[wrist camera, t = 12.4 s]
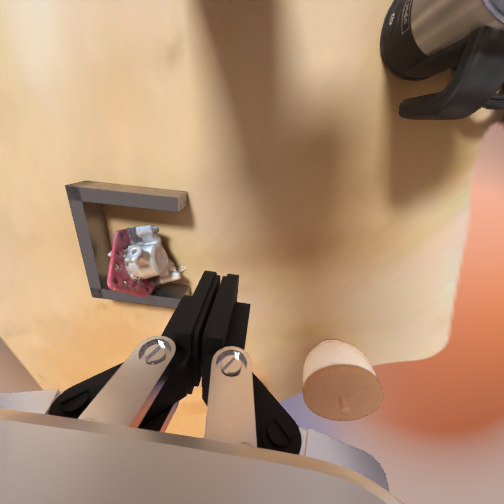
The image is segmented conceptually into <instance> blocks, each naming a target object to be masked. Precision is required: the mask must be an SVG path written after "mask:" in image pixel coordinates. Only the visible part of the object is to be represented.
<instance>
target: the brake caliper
mask: <svg viewBox="0 0 504 504" xmlns="http://www.w3.org/2000/svg"><path fill="white" fill-rule="evenodd" d="M158 231H159V229H158V228H157V227H156V226H152V225H147V226H138V227H133V228H127V229H123V230H118V231H117V232H116V233H115V235H114V236H113V238H114V239H113V246H112V250H111V251H110V252H109V253H108V256H109V257H111V258H110V264H109V272H108V278H107V285H108V287H109V288H110V289H111V290H114V291H118V292H123V293H128V294H131V295H136V296H139V297H148V296H150V294H151V293H152V291H153V289H154V287H156V286H157V285H161V284H164V283H167V282H172V281H175V280H179V279H181V274H180V273H181V272H183V271H184V270H186V267H184V266H181V267H176V268H175V264H174V262H172V261H171V260H170V259H169V258H168V256H167V253H166V251H165V250H164V248H163V247H162V244H161V238H160V237H159V235H158V233H157V232H158ZM115 264H118V266H119V270H117V269H116V268H115ZM133 277H137V278H138V279H137V282H136V281H135V280H134V279H133ZM114 281H115V282H114ZM124 283H127V287H126V286H125V285H124ZM133 287H134V288H135V289H133Z"/></svg>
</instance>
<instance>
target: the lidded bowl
mask: <svg viewBox="0 0 504 504" xmlns="http://www.w3.org/2000/svg"><path fill="white" fill-rule="evenodd" d="M383 396H384V392H383V388H382V386H381V384H380V381H379V380H378V378H377V376H376V374H375V372H374V370H373V368H372V366H371V364H370V363H369V361H368V360H367V359H366V357H365V356H364V355H363V354H362V353H361V352H360V351H359V350H358V349H357V348H355V347H354V346H352V345H350V344H348V343H345V342H343V341H340V340H336V339H330V340H325V341H322V342H320V343H319V344H317V345H316V346H315V347H314V348H313V349H312V350H311V351H310V353H309V354H308V356H307V357H306V360H305V363H304V367H303V397H304V401H305V403H306V405H307V406H308V408H309V409H310V410H311V411H312V412H314V413H315V414H317V415H319V416H321V417H323V418H327V419H330V420H337V421H350V420H356V419H360V418H363V417H365V416H368V415H370V414H371V413H373V412H374V411H375V410H376V409H378V407H379V406H380V405H381V403H382V400H383Z"/></svg>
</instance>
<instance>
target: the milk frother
mask: <svg viewBox="0 0 504 504" xmlns="http://www.w3.org/2000/svg"><path fill="white" fill-rule="evenodd" d="M381 51H382V56H383V59H384V62H385V64H386V65H387V67H388V68H389V69H390V70H391V71H392V72H393V73H394V74H395V75H396V76H398V77H400V78H402V79H407V80H413V81H415V80H422V79H426V78H429V77H431V76H433V75H436V74H438V73H440V72H442V71H445V70H447V69H449V68H450V70H451V72H452V73H453V75H454V76H453V78H452V79H451V81H450V83H449V84H448V86H447V87H446V88H445V89H444V90H443V91H441V92H439V93H434V94H429V95H424V96H419V97H414V98H409V99H405V100H404V101H403V102H402V103H401V104H400V106H399V115H400V116H401V117H402V118H406V119H415V120H453V119H460V118H464V117H467V116H469V115H471V114H473V113H475V112H476V111H477V110H479V109H480V108H481V107H483V108H486V109H492V110H497V109H503V108H504V93H503V94H497V93H496V92H497V91H498V89H499V88H500V87H501V85H502V84H503V83H504V0H394V1H393V3H392V5H391V7H390V8H389V10H388V13H387V15H386V18H385V20H384V24H383V28H382V33H381Z"/></svg>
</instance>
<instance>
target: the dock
mask: <svg viewBox="0 0 504 504" xmlns="http://www.w3.org/2000/svg"><path fill="white" fill-rule="evenodd" d="M65 187H66V191H67V196H68V200H69V204H70V208H71V212H72V216H73V220H74V224H75V228H76V232H77V237H78V241H79V245H80V249H81V253H82V257H83V261H84V265H85V269H86V274H87V278H88V282H89V286H90V290H91V294H92V297H95V298H103V299H110V300H118V301H126V302H133V303H141V304H148V305H156V306H163V307H171V308H177V306H178V304H179V302H180V300H181V298H182V297H183V296H184V295H189V296H190V286H185V285H177V284H169V283H164V284H161V285H157V286H156V287H154V289H153V291H152V293H151V294H150V296H148V297H139V296H136V295H131V294H128V293H123V292H118V291H114V290H111V289H110V288H109V287H108V285H107V278H108V272H109V264H110V258H111V257H109V256H108V253H109V252H110V251H111V250H110V245H109V239H108V234H107V228H106V223H105V218H104V212H103V207H102V204H111V205H120V206H129V207H138V208H147V209H155V210H164V211H173V212H179V211H180V210H182V209H183V208H184V207H185V206H187V205H188V197H187V192H185V191H176V190H166V189H157V188H148V187H139V186H129V185H120V184H111V183H102V182H92V181H82V182H78V183H74V184H69V185H65ZM134 280H135V281H136V282H137V279H134ZM114 282H115V281H114ZM124 285H125V286H126V287H127V283H124ZM133 289H135V288H134V287H133Z"/></svg>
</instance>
